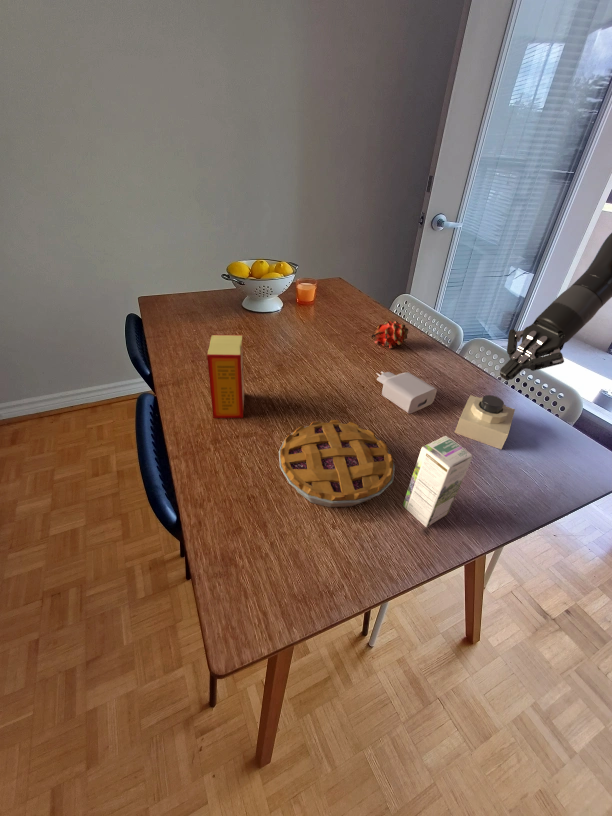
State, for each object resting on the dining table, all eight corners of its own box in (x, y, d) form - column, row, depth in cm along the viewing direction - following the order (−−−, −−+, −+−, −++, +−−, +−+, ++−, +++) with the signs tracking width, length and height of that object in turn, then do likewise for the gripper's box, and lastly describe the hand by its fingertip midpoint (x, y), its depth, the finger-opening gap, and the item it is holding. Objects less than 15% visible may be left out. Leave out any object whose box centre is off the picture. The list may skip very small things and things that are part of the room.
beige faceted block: (508, 423, 93) (518, 402, 89) (501, 449, 85) (511, 428, 81) (465, 409, 96) (472, 388, 93) (454, 432, 89) (462, 411, 85)
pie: (267, 441, 82) (267, 422, 80) (364, 428, 88) (368, 409, 85) (294, 526, 66) (295, 506, 63) (412, 503, 71) (418, 483, 68)
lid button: (502, 407, 88) (505, 399, 87) (499, 416, 85) (502, 409, 84) (481, 400, 90) (484, 392, 89) (478, 409, 87) (480, 402, 85)
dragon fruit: (407, 350, 124) (371, 357, 122) (399, 326, 126) (363, 332, 124) (417, 337, 116) (378, 345, 114) (408, 312, 118) (369, 319, 116)
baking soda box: (217, 394, 95) (211, 332, 86) (244, 394, 96) (242, 333, 87) (213, 418, 88) (206, 353, 78) (243, 417, 88) (240, 354, 79)
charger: (389, 375, 107) (433, 403, 98) (364, 385, 103) (407, 415, 93) (393, 360, 104) (438, 387, 95) (367, 369, 100) (411, 398, 90)
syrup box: (423, 493, 73) (444, 432, 65) (449, 515, 69) (474, 454, 61) (401, 506, 70) (420, 444, 62) (427, 529, 67) (450, 467, 58)
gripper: (601, 338, 78) (533, 402, 80) (543, 313, 87) (484, 370, 90) (597, 315, 73) (525, 384, 75) (536, 291, 82) (474, 353, 85)
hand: (503, 377), depth 82 cm, fingers closed
